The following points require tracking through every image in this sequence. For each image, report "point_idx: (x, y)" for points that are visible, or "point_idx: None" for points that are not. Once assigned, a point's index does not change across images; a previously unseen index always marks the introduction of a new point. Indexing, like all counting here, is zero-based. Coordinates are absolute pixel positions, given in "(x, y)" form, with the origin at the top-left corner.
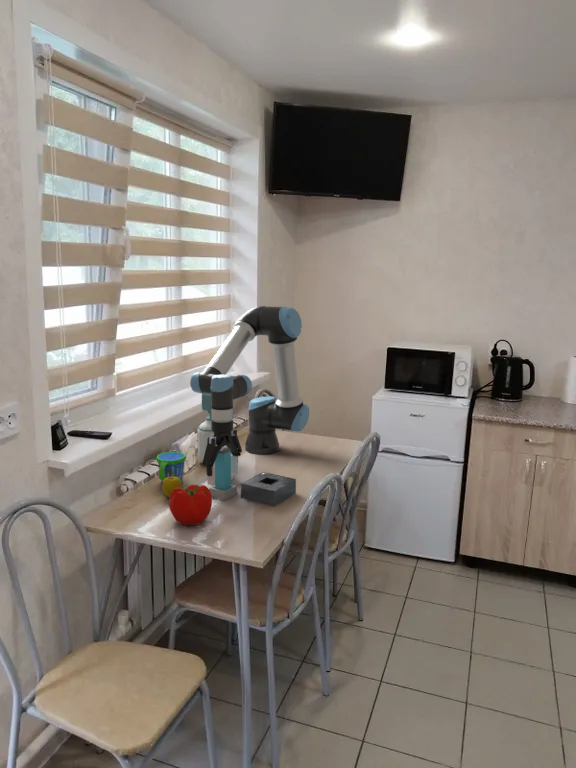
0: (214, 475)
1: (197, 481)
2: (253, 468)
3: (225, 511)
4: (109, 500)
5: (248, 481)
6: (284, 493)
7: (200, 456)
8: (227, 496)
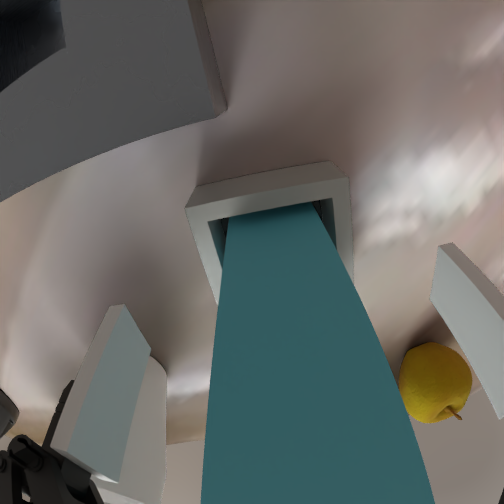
0: (491, 297)
1: None
2: (12, 346)
3: (437, 50)
4: (476, 389)
5: (120, 106)
6: None
7: None
8: (306, 169)
